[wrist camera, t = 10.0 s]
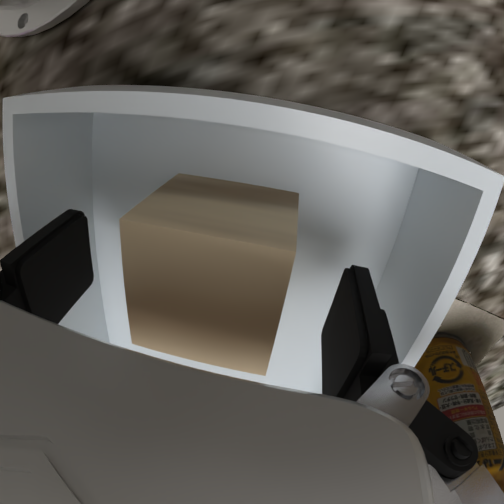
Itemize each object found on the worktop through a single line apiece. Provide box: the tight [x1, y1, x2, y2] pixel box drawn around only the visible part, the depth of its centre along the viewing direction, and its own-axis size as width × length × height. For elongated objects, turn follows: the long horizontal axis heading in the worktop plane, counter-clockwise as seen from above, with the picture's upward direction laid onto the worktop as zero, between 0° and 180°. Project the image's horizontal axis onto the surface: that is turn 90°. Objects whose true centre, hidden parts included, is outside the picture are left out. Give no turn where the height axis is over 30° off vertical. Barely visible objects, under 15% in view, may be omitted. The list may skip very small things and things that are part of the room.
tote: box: [3, 85, 504, 394], centre depth 14 cm, size 21×15×6 cm
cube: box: [119, 173, 299, 376], centre depth 12 cm, size 5×5×5 cm
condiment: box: [414, 299, 504, 493], centre depth 11 cm, size 7×8×12 cm
